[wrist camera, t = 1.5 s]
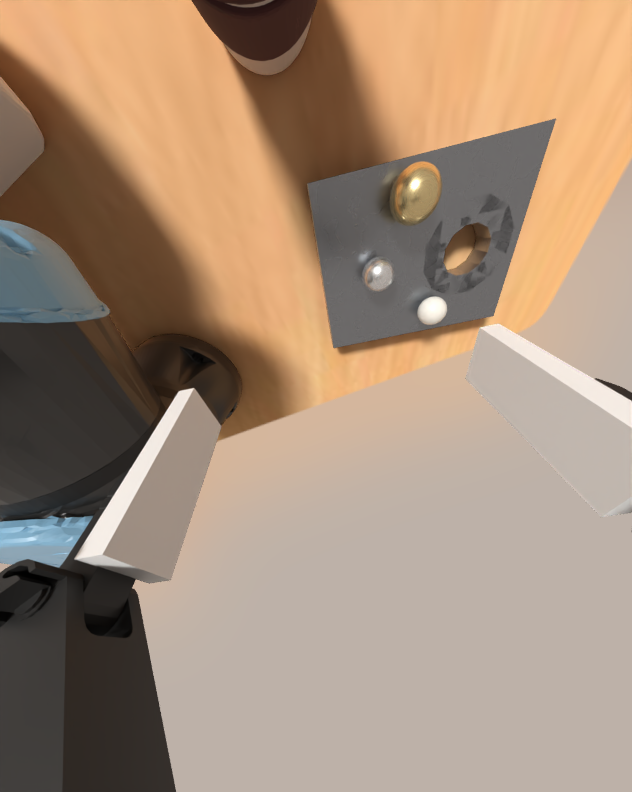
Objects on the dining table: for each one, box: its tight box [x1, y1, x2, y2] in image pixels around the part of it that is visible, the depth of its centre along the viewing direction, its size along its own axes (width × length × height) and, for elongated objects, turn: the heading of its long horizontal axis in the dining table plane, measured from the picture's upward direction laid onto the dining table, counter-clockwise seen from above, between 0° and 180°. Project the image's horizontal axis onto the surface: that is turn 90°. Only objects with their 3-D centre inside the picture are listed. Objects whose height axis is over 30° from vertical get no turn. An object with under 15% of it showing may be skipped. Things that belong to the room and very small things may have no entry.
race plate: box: [307, 119, 556, 348], centre depth 25 cm, size 20×16×2 cm
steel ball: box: [362, 256, 395, 292], centre depth 23 cm, size 3×3×3 cm
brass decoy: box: [389, 161, 442, 226], centre depth 19 cm, size 4×4×4 cm
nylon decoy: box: [417, 296, 447, 325], centre depth 26 cm, size 3×3×3 cm
